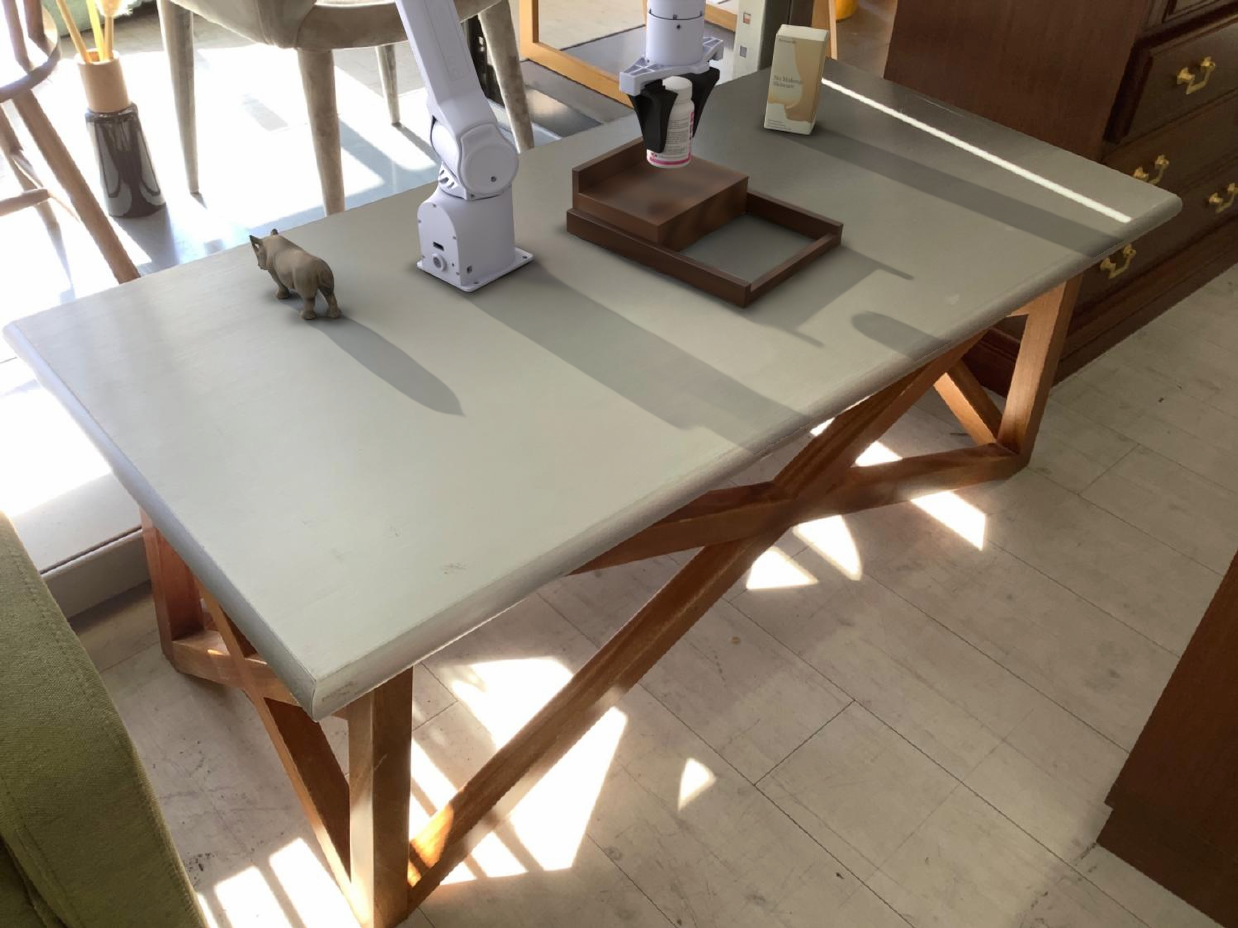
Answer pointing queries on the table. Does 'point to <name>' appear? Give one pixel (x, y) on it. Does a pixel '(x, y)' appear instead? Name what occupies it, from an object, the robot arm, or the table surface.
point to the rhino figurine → (296, 272)
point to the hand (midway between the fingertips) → (669, 143)
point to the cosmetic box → (796, 78)
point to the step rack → (683, 217)
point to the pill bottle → (677, 127)
